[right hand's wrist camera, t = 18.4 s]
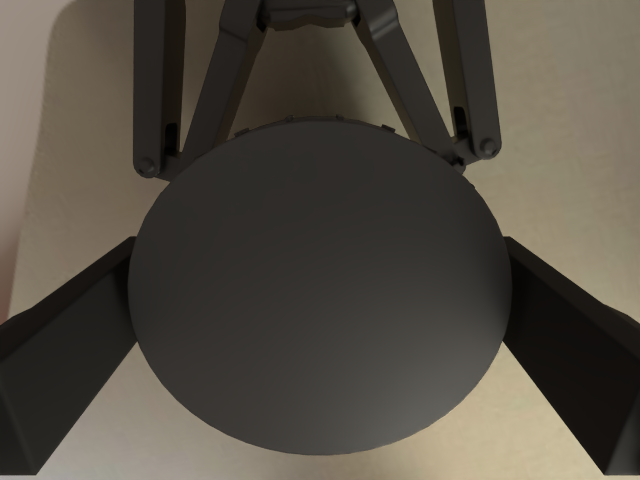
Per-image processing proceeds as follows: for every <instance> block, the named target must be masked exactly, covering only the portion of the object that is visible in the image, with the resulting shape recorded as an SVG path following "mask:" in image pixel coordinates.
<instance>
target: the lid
mask: <svg viewBox="0 0 640 480" xmlns="http://www.w3.org/2000/svg"><path fill="white" fill-rule="evenodd" d="M394 132H395V129H393V128H391V127H388V126H386V125H383V124H382V126H381V127H379V126H376V125H372V124H369V123H366V122H362V121H359V120H352V119H345V118H344V117H343V116H342V115H340V114H337V115H336V117H302V118H294V117H293V115H291V116H288V117H286V118H285V120H282V121H278V122H274V123H271V124H267V125H263V126H260V127H258V128H255V129H253V130H251V131H250V130H249V128H246V129H244V130H241V131H239V132H236V133H234V135H235V138H232V139H230V140H228V141H226V142H224V143H221V144H220V145H218V146H216V147H215V148H213V149H212V150H210V151H208V152H206V153H204V154H201V155H199V156H197V157H195V158H193V159H192V160H191V161H192V163H191V164H190V165H189V166H187V167H186V168H185V169H184V170H183V171H182V172H180V173H179V174H178V175H177V176H176V177H175V178H174V179H173V180H172V181H171V182H170V184H169V185H168V186H167V187H166V188H165V189H164V190H163V192H161V193H160V195H159V196H158V198H157V199H156V201H155V203H154V204H153V206H152V207H151V209H150V210H149V212H148V214H147V215H146V217H145V219H144V221H143V223H142V226H141V228H140V230H139V233H138V235H137V237H136V240H135V244H134V247H133V251H132V255H131V259H130V264H129V274H128V284H127V286H128V304H129V311H130V316H131V321H132V326H133V329H134V332H135V335H136V338H137V341H138V343H139V346H140V349H141V351H142V352H143V354H144V356H145V358H146V360H147V362H148V364H149V366H150V367H151V369H152V370H153V372H154V373H155V375H156V376H157V377H158V379H159V380H160V382H161V383H162V384H163V386H164V387H165V388H166V389H167V390H168V391H169V392H170V393H171V394H172V395H173V397H174V398H175V399H176V400H177V401H179V402H180V403H181V404H182V405H183V406H184V407H185V408H187V409H188V410H189V411H190V412H191V413H192V414H194V415H195V416H197V417H198V418H200V419H201V420H203V421H204V422H205V423H207V424H208V425H210V426H212V427H214V428H216V429H217V430H219V431H221V432H223V433H225V434H227V435H229V436H231V437H234V438H236V439H238V440H241V441H243V442H246V443H248V444H252V445H255V446H258V447H262V448H265V449H269V450H274V451H279V452H284V453H291V454H301V455H339V454H350V453H355V452H361V451H366V450H371V449H374V448H378V447H381V446H385V445H388V444H391V443H394V442H396V441H399V440H401V439H404V438H406V437H409V436H411V435H413V434H415V433H417V432H419V431H421V430H423V429H424V428H426V427H428V426H430V425H431V424H433V423H434V422H436V421H437V420H439V419H440V418H442V417H443V416H445V415H446V414H447V413H448V412H450V411H451V410H452V409H453V408H454V407H456V406H457V405H458V404H459V403H460V402H461V401H462V400H463V399H464V398H465V397H466V396H467V395H468V394H469V393H470V392H471V391H472V390H473V389H474V388H475V387H476V385H477V384H478V383H479V381H480V380H481V379H482V377H483V376H484V374H485V373H486V372H487V370H488V369H489V367H490V365H491V363H492V362H493V360H494V358H495V356H496V354H497V352H498V350H499V348H500V345H501V343H502V340H503V337H504V335H505V332H506V329H507V324H508V320H509V315H510V311H511V300H512V277H511V265H510V260H509V256H508V252H507V248H506V244H505V241H504V238H503V236H502V233H501V231H500V228H499V226H498V224H497V221H496V219H495V217H494V216H493V214H492V213H491V211H490V209H489V208H488V206H487V204H486V203H485V201H484V199H483V198H482V197H481V196H480V194H479V193H478V192H477V191H476V190H475V187H474V185H472V184H471V183H469V181H468V180H467V179H466V178H465V177H464V176H463V175H462V174H460V173H459V172H458V171H457V170H456V169H455V168H454V167H452V166H451V165H450V164H449V163H448V162H447V161H445V160H444V159H442V158H441V157H439V155H440V153H439V152H437V151H435V150H432V149H430V148H428V147H426V146H424V145H420V144H418V143H416V142H413V141H411V140H409V139H407V138H405V137H402V136H400V135H398V134H396V133H394Z"/></svg>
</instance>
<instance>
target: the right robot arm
mask: <svg viewBox="0 0 640 480" xmlns="http://www.w3.org/2000/svg"><path fill="white" fill-rule="evenodd" d="M503 238H504V241H505V244H506V248H507V252H508V256H509V260H510V265H511V277H512V300H511V311H510V315H509V320H508V324H507V329H506V332H505V335H504V337H503V340H502V341H503V342H504V343H505V345H506V346H507V347H508V349H509V350H510V351H511V353H512V354H513V355H514V357H515V358H516V359H517V361H518V362H519V363H520V365H521V366H522V367H523V369H524V370H525V371H526V372H527V374H528V375H529V376H530V378H531V379H532V380H533V382H534V383H535V384H536V386H537V387H538V388H539V390H540V391H541V392H542V394H543V395H544V396H545V398H546V399H547V400H548V402H549V403H550V404H551V406H552V407H553V408H554V410H555V411H556V412H557V414H558V415H559V416H560V418H561V419H562V420H563V421H564V423H565V424H566V425H567V427H568V428H569V429H570V431H571V432H572V433H573V435H574V436H575V437H576V439H577V440H578V441H579V443H580V444H581V445H582V447H583V448H584V449H585V451H586V452H587V453H588V455H589V456H590V457H591V459H592V460H593V461H594V463H595V464H596V465H597V466H598V468H599V469H600V470H601V472H602V473H603V474H604V475H640V323H638V322H637V321H635V320H634V319H632V318H631V317H630V316H628V315H626V314H624V313H622V312H620V311H618V310H616V309H613V308H611V307H609V306H607V305H604V304H603V303H601V302H600V301H598V300H597V299H596V298H594V297H593V296H591V295H590V294H589V293H587V292H586V291H585V290H583V289H582V288H580V287H579V286H578V285H576V284H575V283H574V282H572V281H571V280H569V279H568V278H567V277H565V276H564V275H562V274H561V273H560V272H558V271H557V270H556V269H554V268H553V267H551V266H550V265H549V264H547V263H546V262H544V261H543V260H542V259H540V258H539V257H538V256H536V255H535V254H533V253H532V252H531V251H529V250H528V249H527V248H525V247H524V246H522V245H521V244H520V243H518V242H517V241H515V240H514V239H513V238H511V237H503ZM135 240H136V237H129V238H127V239H126V240H125V241H123V242H122V243H120V244H119V245H118V246H116V247H115V248H113V249H112V250H111V251H109V252H108V253H107V254H105V255H104V256H102V257H101V258H100V259H98V260H97V261H96V262H94V263H93V264H91V265H90V266H89V267H87V268H86V269H84V270H83V271H82V272H80V273H79V274H78V275H76V276H75V277H73V278H72V279H71V280H69V281H68V282H66V283H65V284H64V285H62V286H61V287H60V288H58V289H57V290H55V291H54V292H53V293H51V294H50V295H49V296H47V297H46V298H44V299H43V300H42V301H40V302H39V303H37V304H36V305H35V306H33V307H32V308H30V309H28V310H26V311H24V312H21V313H19V314H17V315H15V316H13V317H11V318H10V319H9V320H7V321H6V322H4V323H3V324H2V325H0V475H36V474H37V473H38V472H39V470H40V469H41V468H42V466H43V465H44V464H45V463H46V461H47V460H48V459H49V457H50V456H51V455H52V453H53V452H54V451H55V449H56V448H57V447H58V445H59V444H60V443H61V441H62V440H63V439H64V437H65V436H66V435H67V433H68V432H69V431H70V429H71V428H72V427H73V425H74V424H75V423H76V421H77V420H78V419H79V418H80V416H81V415H82V414H83V412H84V411H85V410H86V408H87V407H88V406H89V404H90V403H91V402H92V400H93V399H94V398H95V396H96V395H97V394H98V392H99V391H100V390H101V388H102V387H103V386H104V384H105V383H106V382H107V380H108V379H109V378H110V376H111V375H112V374H113V372H114V371H115V370H116V369H117V367H118V366H119V365H120V363H121V362H122V361H123V359H124V358H125V357H126V355H127V354H128V353H129V351H130V350H131V349H132V347H133V346H134V345H135V343H136V342H137V338H136V335H135V332H134V329H133V326H132V321H131V316H130V311H129V304H128V286H127V284H128V274H129V264H130V259H131V255H132V251H133V247H134V244H135Z"/></svg>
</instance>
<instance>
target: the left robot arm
mask: <svg viewBox="0 0 640 480" xmlns="http://www.w3.org/2000/svg"><path fill="white" fill-rule="evenodd" d="M432 2H433V9H434V15H435V21H436V27H437V33H438V39H439V45H440V51H441V57H442V63H443V69H444V75H445V81H446V87H447V93H448V99H449V105H450V111H451V117H452V123H453V129H454V135H455V136H453V137H450V135H449V133H448V131H447V128H446V126H445V124H444V122H443V119H442V117H441V115H440V113H439V111H438V108H437V106H436V104H435V102H434V99H433V97H432V95H431V93H430V91H429V88H428V86H427V84H426V82H425V79H424V77H423V75H422V73H421V71H420V68H419V66H418V64H417V62H416V59H415V57H414V55H413V53H412V50H411V48H410V46H409V44H408V42H407V39H406V37H405V35H404V33H403V30H402V28H401V26H400V24H399V20H398V13H397V10H396V7H395V4H394V2H393V0H225V4H224V7H223V10H222V13H221V17H220V22H219V36H218V39H217V42H216V45H215V49H214V52H213V55H212V58H211V61H210V65H209V68H208V71H207V74H206V77H205V81H204V84H203V87H202V90H201V93H200V97H199V100H198V103H197V106H196V109H195V113H194V116H193V119H192V122H191V125H190V129H189V132H188V135H187V138H186V141H185V145H184V148H183V151H182V152H180V151H179V149H180V129H181V109H182V89H183V69H184V49H185V29H186V4H185V0H134V90H133V165H134V169H135V170H136V172H137V173H138V174H139V175H140V176H142V177H145V178H153V177H156V178H159V179H163V180H166V181H170V182H171V181H172V180H173V179H174V178H175V177H176V176H177V175H178V174H179V173H180V172H182V171H183V170H184V169H185V168H186V167H187V166H189V165H190V164H191V163H192V161H191V160H192V159H193V158H195V157H197V156H199V155H201V154H204V153H206V152H208V151H210V150H212V149H213V148H215V147H216V146H218V145H220V144H221V143H224V142H226V140H227V138H228V135H229V132H230V129H231V126H232V123H233V120H234V118H235V115H236V112H237V109H238V106H239V103H240V101H241V98H242V95H243V92H244V89H245V86H246V83H247V81H248V78H249V75H250V72H251V69H252V66H253V64H254V61H255V58H256V55H257V53H258V51H259V50H260V48H261V46H262V44H263V41H264V38H265V36H266V33H267V30H268V27H271V28H274V29H275V31H285V30H294V29H296V28H299V27H302V26H304V25H307V24H313V25H317V26H321V27H325V28H333V27H344V24H346V23H348V22H350V21H351V23H352V25H353V27H354V29H355V31H356V33H357V35H358V37H359V39H360V41H361V43H362V44H363V45H364V46H365V48H366V50H367V52H368V54H369V56H370V58H371V60H372V62H373V64H374V66H375V68H376V70H377V73H378V75H379V77H380V79H381V81H382V83H383V85H384V87H385V89H386V91H387V93H388V95H389V97H390V99H391V101H392V103H393V105H394V107H395V109H396V111H397V113H398V116H399V118H400V120H401V122H402V124H403V126H404V128H405V130H406V132H407V134H408V136H409V138H410V140H411V141H413V142H416V143H418V144H420V145H424V146H426V147H428V148H430V149H432V150H435V151H437V152H439V153H440V155H439V157H441V158H442V159H444V160H445V161H447V162H448V163H449V164H450V165H451V166H452V167H454V168H455V169H456V170H457V171H458V172H459V173H460V174H463V172H464V171H465V168H466V165H469V164H471V163H473V162H476V161H478V160H481V159H483V160H488V159H492V158H494V157H495V156H496V155H497V154H498V153H499V151H500V149H501V144H502V141H501V133H500V125H499V117H498V109H497V100H496V92H495V84H494V76H493V68H492V59H491V51H490V43H489V35H488V27H487V18H486V10H485V2H484V0H432Z"/></svg>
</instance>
